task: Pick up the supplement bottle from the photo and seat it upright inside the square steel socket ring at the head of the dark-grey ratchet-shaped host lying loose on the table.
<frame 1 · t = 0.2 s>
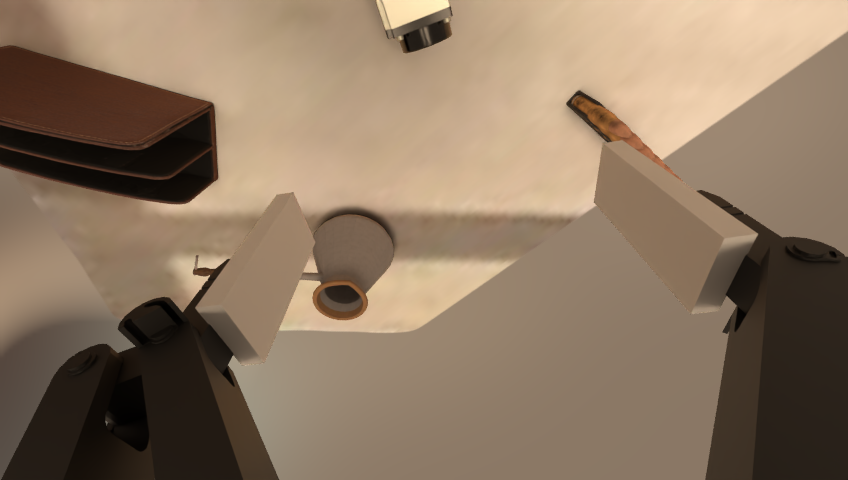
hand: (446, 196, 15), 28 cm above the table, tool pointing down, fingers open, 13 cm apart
ammunition clip: (600, 123, 41), on the table
letter holder: (129, 118, 40), on the table
coffee pot: (324, 226, 49), on the table
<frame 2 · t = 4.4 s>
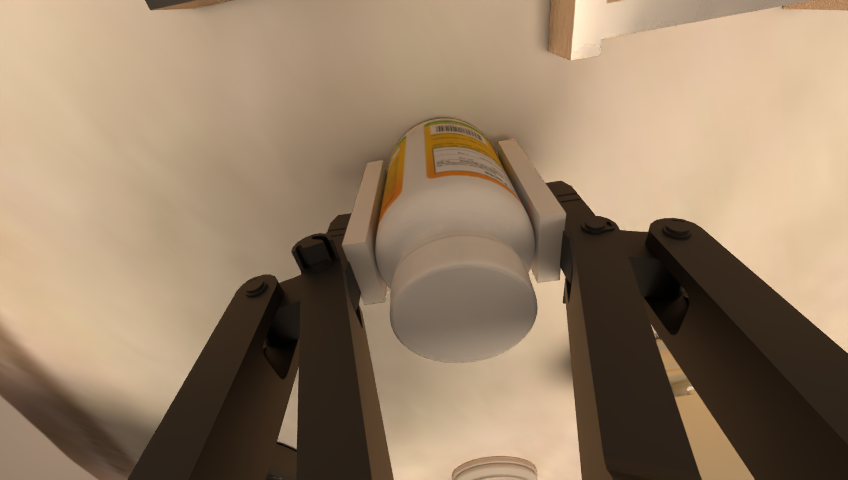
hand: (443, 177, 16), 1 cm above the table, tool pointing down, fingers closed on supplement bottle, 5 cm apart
chess piece: (493, 472, 40), on the table
supplement bottle: (442, 169, 17), on the table, touching gripper
pneumatic valve: (635, 353, 26), on the table
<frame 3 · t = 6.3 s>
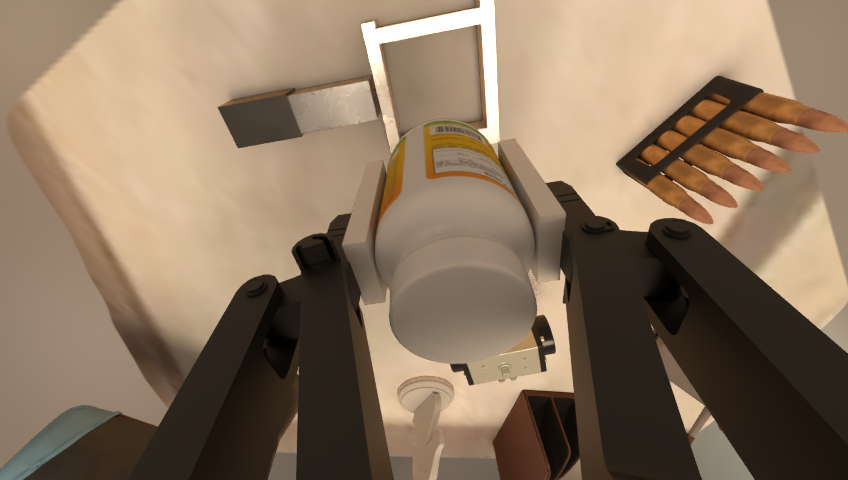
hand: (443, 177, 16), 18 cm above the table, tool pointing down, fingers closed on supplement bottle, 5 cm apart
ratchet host: (435, 83, 30), on the table
ammunition clip: (666, 127, 33), on the table
letter holder: (530, 417, 65), on the table
chess piece: (425, 390, 59), on the table
supplement bottle: (441, 169, 17), point 17 cm above the table, touching gripper
coffee pot: (653, 353, 54), on the table
pneumatic valve: (486, 297, 46), on the table
when the fingers open (3 cm above the table, at t = 8.5 s): supplement bottle drops 2 cm, resting in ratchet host.
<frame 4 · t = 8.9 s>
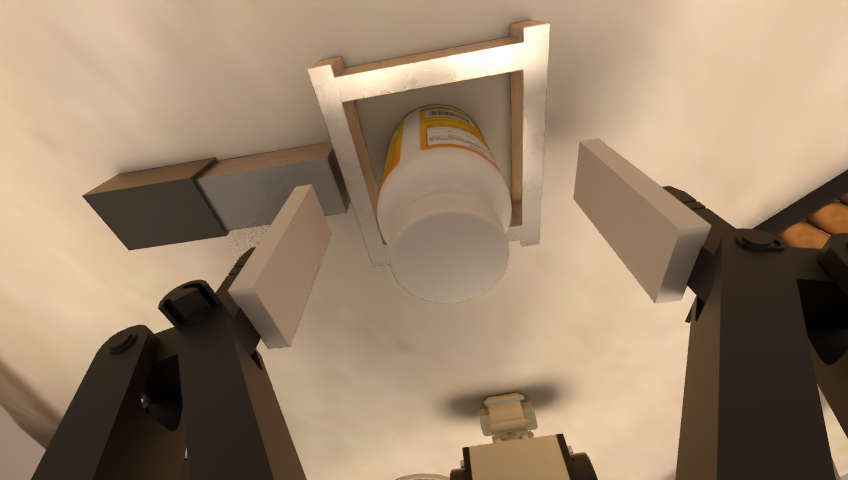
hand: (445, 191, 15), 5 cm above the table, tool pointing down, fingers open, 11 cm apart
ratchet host: (439, 152, 19), on the table
ammunition clip: (789, 213, 22), on the table
supplement bottle: (436, 151, 19), resting in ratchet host
pneumatic valve: (504, 401, 35), on the table
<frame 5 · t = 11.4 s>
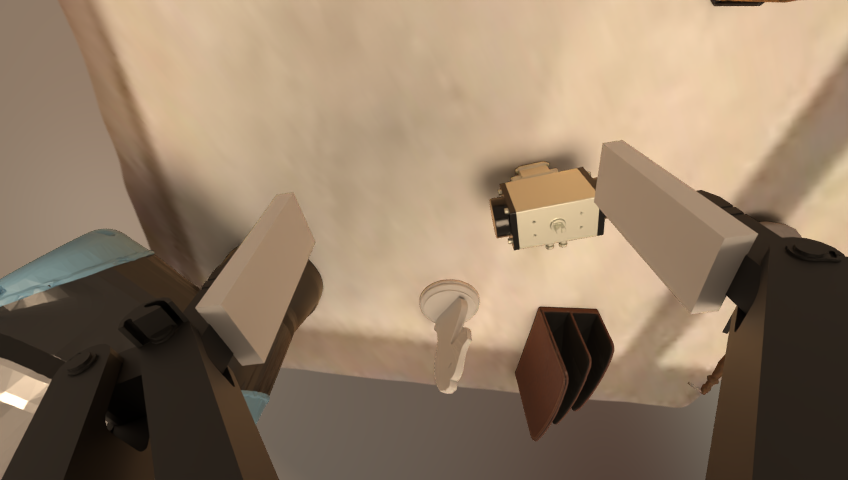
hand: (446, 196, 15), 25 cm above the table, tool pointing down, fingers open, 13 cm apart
letter holder: (551, 342, 62), on the table
chess piece: (449, 300, 56), on the table
coffee pot: (700, 267, 50), on the table
pneumatic valve: (530, 177, 42), on the table
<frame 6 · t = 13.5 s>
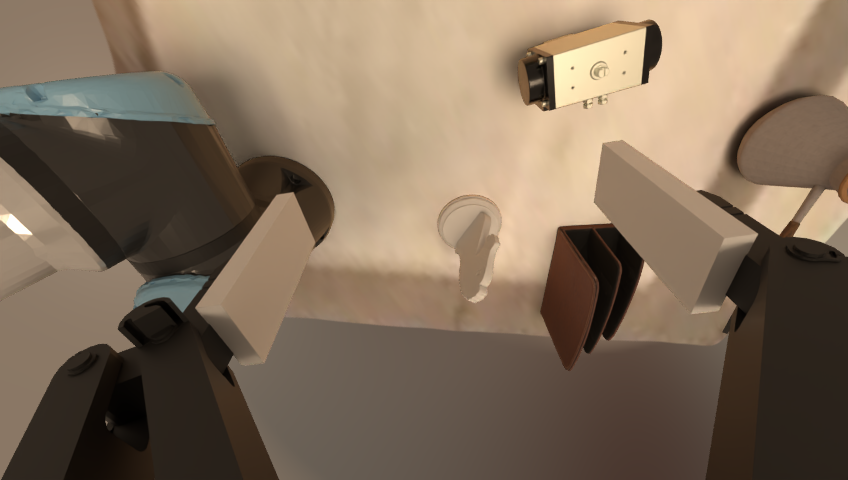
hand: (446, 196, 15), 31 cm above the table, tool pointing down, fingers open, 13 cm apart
letter holder: (576, 270, 59), on the table
chess piece: (469, 222, 52), on the table
coffee pot: (735, 165, 47), on the table
pneumatic valve: (556, 58, 39), on the table
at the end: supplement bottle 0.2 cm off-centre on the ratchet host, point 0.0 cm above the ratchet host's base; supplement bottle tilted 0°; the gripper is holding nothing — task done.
